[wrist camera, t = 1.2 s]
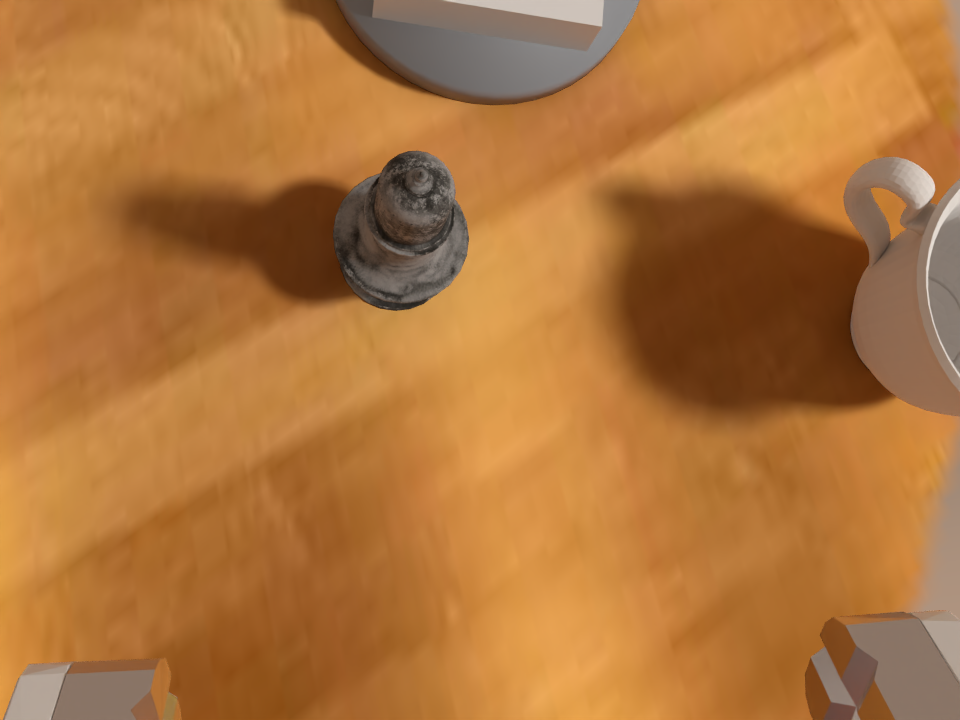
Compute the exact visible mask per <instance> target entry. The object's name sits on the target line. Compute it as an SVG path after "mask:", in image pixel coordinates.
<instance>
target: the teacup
mask: <svg viewBox="0 0 960 720" xmlns="http://www.w3.org/2000/svg"><path fill="white" fill-rule="evenodd" d="M873 187H877V188H883V189H887V190H889V191H891V192H893V193H895V194H896V195H898V196H899V197H900V198H902V199H903V201H904V202H905V203H906V204H907V207H906V208H905V210H904V212H903V213H902V215H901V219H900V224H901V225H902V226H903V227H905V228H907V229H906V230H905V231H903V232H902V233H900V234H899V235H898V236H896V237H895V238H894V239H892V240H891V241H890V229H889V225H888V222H887V220H886V218H885V216H884V214H883V213H882V211H881V210H880V208H879V206H878V205H877V203H876V202H875V200H874V198H873V195H872V193H871V188H873ZM934 192H935V185H934V182H933V180H932V178H931V177H930V176H929V174H928V173H927V172H926V171H925V170H923V169H922V168H921V167H920V166H918V165H917V164H915V163H913V162H911V161H908V160H906V159H902V158H898V157H883V158H879V159H874V160H872V161H870V162H868V163H866V164H864V165H863V166H861V167H860V168H859V169H858V170H857V171H856V172H855V173H854V174H853V175H852V176H851V178H850V179H849V181H848V183H847V186H846V188H845V192H844V206H845V209H846V213H847V215H848V216H849V218H850V220H851V222H852V224H853V225H854V226H855V228H856V229H857V230H858V232H859V233H860V235H861V236H862V237H863V239H864V241H865V243H866V245H867V246H868V250H869V265H868V266H867V268H866V270H865V271H864V273H863V275H862V277H861V279H860V282H859V284H858V286H857V290H856V293H855V297H854V303H853V310H852V314H851V323H850V326H851V336H852V340H853V344H854V347H855V349H856V351H857V353H858V356H859V357H860V359H861V360H862V362H863V363H864V364H865V366H866V367H867V368H868V369H869V370H870V371H871V373H872V374H873V375H874V376H875V378H876V379H877V380H878V381H879V382H880V383H881V384H882V385H883V386H884V387H885V388H886V389H887V390H888V391H890V392H891V393H892V394H894V395H895V396H897V397H898V398H899V399H901V400H903V401H905V402H907V403H909V404H911V405H914V406H916V407H919V408H922V409H924V410H927V411H931V412H936V413H940V414H946V415H952V416H960V179H959V180H958V181H957V182H956V183H955V184H954V185H953V186H952V187H951V188H950V189H949V190H948V191H947V193H946V194H945V195H944V196H943V198H942V199H941V200H940V202H939V203H938V205H935V204H932V203H930V201H931V200H932V197H933V195H934Z"/></svg>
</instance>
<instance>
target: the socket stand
mask: <svg viewBox="0 0 960 720" xmlns="http://www.w3.org/2000/svg"><path fill="white" fill-rule="evenodd" d="M336 2H337V5H338V6H339V8H340V10H341V12H342V14H343V16H344V17H345V19H346V21H347V23H348V24H349V26H350V27H351V28H352V30H353V31H354V32H355V34H356V35H357V37H358V38H359V39H360V41H361V42H362V43H363V44H364V45H365V46H366V47H367V48H368V49H369V50H370V51H371V52H372V53H373V54H374V55H375V56H376V57H377V58H378V59H379V60H380V61H382V62H383V63H384V64H385V65H386V66H388V67H389V68H390V69H391V70H392V71H394V72H396V73H397V74H399V75H400V76H402V77H403V78H405V79H406V80H408V81H409V82H411V83H413V84H415V85H417V86H419V87H421V88H424V89H426V90H428V91H430V92H432V93H435V94H438V95H441V96H444V97H447V98H450V99H454V100H459V101H464V102H468V103H475V104H487V105H503V104H517V103H522V102H528V101H533V100H537V99H540V98H543V97H546V96H549V95H552V94H554V93H556V92H559V91H561V90H563V89H565V88H567V87H569V86H571V85H572V84H574V83H575V82H577V81H578V80H580V79H581V78H583V77H584V76H586V75H587V74H588V73H589V72H590V71H591V70H593V69H594V68H595V67H596V66H597V65H598V64H599V63H600V62H601V61H602V60H603V59H604V58H605V56H606V55H607V54H608V53H609V52H610V50H611V49H612V48H613V47H614V45H615V44H616V42H617V41H618V39H619V38H620V36H621V35H622V33H623V32H624V30H625V28H626V27H627V25H628V24H629V22H630V20H631V19H632V17H633V14H634V12H635V10H636V7H637V5H638V3H639V0H336Z"/></svg>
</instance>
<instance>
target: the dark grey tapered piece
mask: <svg viewBox="0 0 960 720" xmlns="http://www.w3.org/2000/svg"><path fill="white" fill-rule="evenodd" d="M455 193H456V192H455V185H454V180H453V178H452V175H451V173H450V171H449V169H448V168H447V167H446V166H445V164H444V163H443V162H442V161H440V160H439V159H438V158H437V157H435V156H433V155H431V154H429V153H426V152H421V151H407V152H405V153H402V154H399V155H397V156H396V157H394V158H393V159H392V160H390V161H389V162H388V163H387V165H386V166H385V167H384V168H383V170H382V173H380V174H377V175H374V176H372V177H369V178H367V179H365V180H364V181H363V182H361V183H360V184H358V185H357V186H355V187H354V188H353V189H352V190H351V191H350V193H349V194H348V195H347V196H346V197H345V199H344V200H343V201H342V203H341V206H340V208H339V210H338V212H337V215H336V217H335V224H334V230H333V239H334V247H335V253H336V255H337V258H338V260H339V262H340V267H341V270H342V273H343V275H344V277H345V280H346V282H347V283H348V285H349V286H350V287H351V288H352V290H353V291H354V292H355V294H357V295H358V296H359V297H361V298H362V299H363V300H364V301H366V302H367V303H369V304H372V305H374V306H376V307H379V308H381V309H388V310H395V311H397V310H406V309H411V308H414V307H417V306H419V305H422V304H424V303H425V302H427V301H428V300H429V299H431V298H432V297H433V296H435V295H437V294H438V293H439V292H441V291H442V290H443V289H445V288H446V287H448V286H449V285H450V284H451V282H452V281H453V280H454V279H455V277H456V276H457V275H458V273H459V272H460V271H461V268H462V266H463V263H464V261H465V259H466V256H467V250H468V242H469V236H468V229H467V222H466V219H465V217H464V214H463V212H462V210H461V207H460V205H459V204H458V203H457V201H456V200H455Z"/></svg>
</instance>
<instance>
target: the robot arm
mask: <svg viewBox="0 0 960 720" xmlns="http://www.w3.org/2000/svg"><path fill="white" fill-rule="evenodd" d="M820 637H821V639H822V641H823V643H824V645H825V647H824V648H823V649H821V650H820V651H819V652H817V653H816V654H815V655H813V656H812V657H811V658H810V661H809V664H808V667H807V670H806V673H805V690H806V699H807V703H808V706H809V710H810V714H811V716H812V718H813V720H960V620H959V619H958V618H957V617H956V616H955V615H953V614H952V613H951V612H949V611H944V610H937V611H925V612H913V613H905V612H893V613H880V614H867V615H854V616H841V617H832V618H831V619H830V620H828V621H827V622H825V624H824V626H823V629H822V631H821V633H820ZM170 679H171V673H170V669H169V666H168V663H167V660H166V658H157V659H133V660H109V661H85V662H59V663H42V664H29V665H28V666H27V668H26V669H25V670H24V672H23V673H22V674H21V676H20V677H19V678H18V681H17V683H16V686H15V689H14V691H13V694H12V697H11V700H10V702H9V705H8V708H7V710H6V713H5V716H4V718H3V720H181V710H180V706H179V702H178V698H177V697H175V696H174V695H172V694H171V693H169V692H168V689H169V684H170Z"/></svg>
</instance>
